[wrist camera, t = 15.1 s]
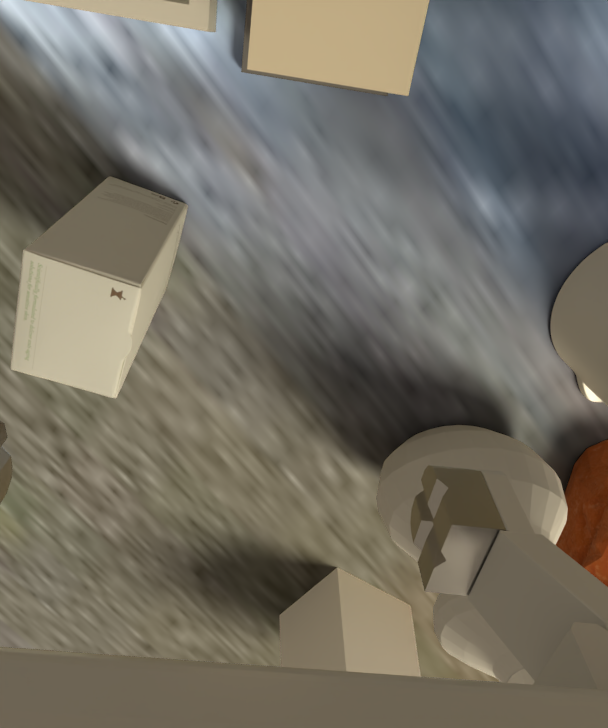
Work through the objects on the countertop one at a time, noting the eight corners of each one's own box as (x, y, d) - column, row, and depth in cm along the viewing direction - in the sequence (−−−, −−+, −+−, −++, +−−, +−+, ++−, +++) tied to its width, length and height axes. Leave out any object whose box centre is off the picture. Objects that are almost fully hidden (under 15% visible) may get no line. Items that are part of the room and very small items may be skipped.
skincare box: (109, 173, 40) (17, 238, 27) (195, 205, 42) (147, 282, 28) (90, 271, 44) (1, 370, 31) (169, 297, 46) (116, 404, 32)
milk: (279, 615, 68) (270, 892, 46) (337, 567, 64) (358, 849, 42) (351, 648, 72) (375, 918, 50) (410, 605, 68) (466, 882, 45)
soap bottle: (366, 495, 58) (419, 846, 33) (371, 407, 52) (441, 755, 27) (523, 492, 58) (697, 841, 33) (546, 404, 52) (781, 748, 27)
